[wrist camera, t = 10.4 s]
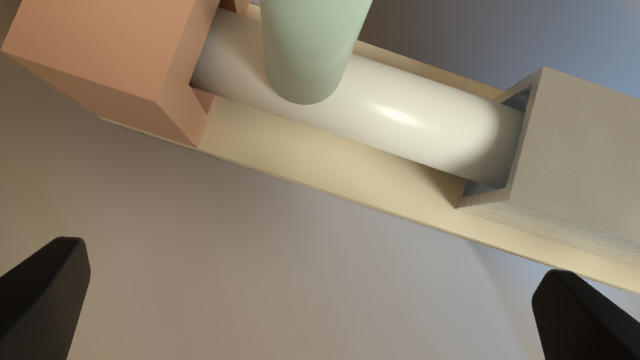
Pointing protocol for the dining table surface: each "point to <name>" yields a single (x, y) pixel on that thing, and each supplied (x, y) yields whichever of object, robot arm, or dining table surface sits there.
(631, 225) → the sleeve
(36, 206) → the dining table surface
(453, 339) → the dining table surface
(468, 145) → the beige cradle bracket
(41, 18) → the socket
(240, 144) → the base rail
